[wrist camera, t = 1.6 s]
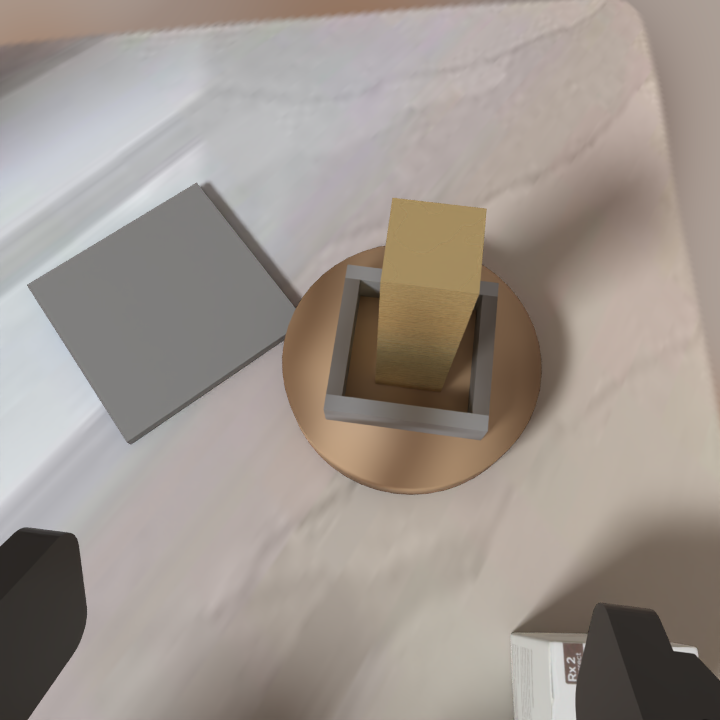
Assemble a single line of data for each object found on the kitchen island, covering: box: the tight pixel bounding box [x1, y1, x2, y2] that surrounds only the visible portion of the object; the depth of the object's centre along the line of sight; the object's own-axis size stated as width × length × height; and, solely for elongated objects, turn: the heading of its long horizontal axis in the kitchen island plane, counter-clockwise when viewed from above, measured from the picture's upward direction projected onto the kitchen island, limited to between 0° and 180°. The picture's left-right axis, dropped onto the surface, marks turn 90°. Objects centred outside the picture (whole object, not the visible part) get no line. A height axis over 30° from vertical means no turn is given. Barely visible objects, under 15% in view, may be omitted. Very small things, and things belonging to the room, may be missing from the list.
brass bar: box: [375, 198, 487, 392], centre depth 28 cm, size 4×4×12 cm
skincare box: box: [510, 633, 699, 720], centre depth 27 cm, size 6×6×7 cm
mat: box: [27, 183, 296, 444], centre depth 38 cm, size 12×12×1 cm
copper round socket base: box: [282, 246, 542, 495], centre depth 34 cm, size 14×14×4 cm
